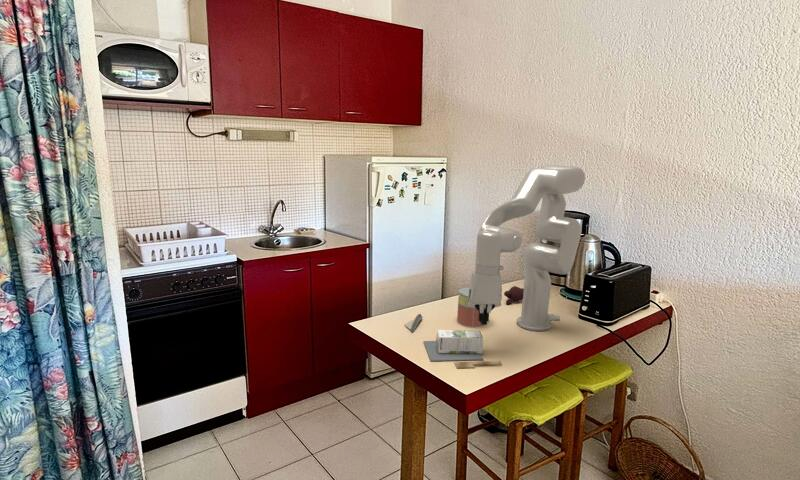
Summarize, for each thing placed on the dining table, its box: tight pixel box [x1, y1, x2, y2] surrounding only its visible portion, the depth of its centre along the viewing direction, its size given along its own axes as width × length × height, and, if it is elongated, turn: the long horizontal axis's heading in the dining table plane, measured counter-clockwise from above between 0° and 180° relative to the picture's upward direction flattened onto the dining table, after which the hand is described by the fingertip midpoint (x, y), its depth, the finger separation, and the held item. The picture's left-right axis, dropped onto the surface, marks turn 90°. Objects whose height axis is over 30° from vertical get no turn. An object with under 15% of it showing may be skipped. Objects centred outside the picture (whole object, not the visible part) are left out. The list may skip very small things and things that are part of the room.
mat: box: [423, 340, 485, 363], centre depth 149 cm, size 17×14×1 cm
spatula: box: [453, 360, 503, 370], centre depth 140 cm, size 14×4×1 cm, turn 96°
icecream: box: [503, 285, 524, 306], centre depth 197 cm, size 7×7×15 cm
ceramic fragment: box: [403, 313, 423, 334], centre depth 169 cm, size 14×5×4 cm, turn 162°
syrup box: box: [435, 329, 484, 355], centre depth 148 cm, size 6×6×14 cm
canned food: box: [456, 286, 486, 329], centre depth 172 cm, size 11×11×12 cm
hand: (483, 323), depth 148 cm, fingers closed
